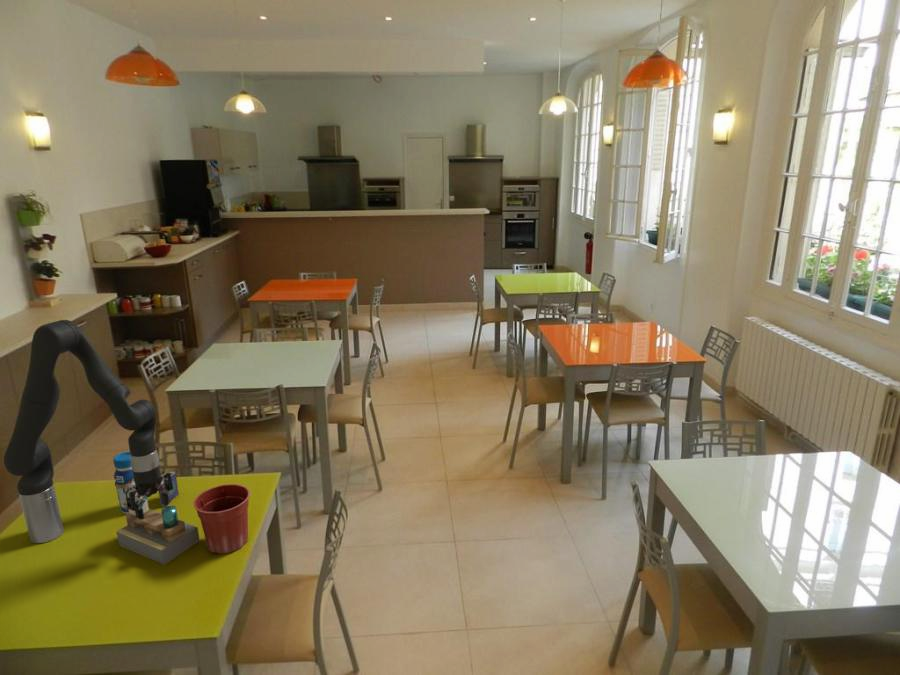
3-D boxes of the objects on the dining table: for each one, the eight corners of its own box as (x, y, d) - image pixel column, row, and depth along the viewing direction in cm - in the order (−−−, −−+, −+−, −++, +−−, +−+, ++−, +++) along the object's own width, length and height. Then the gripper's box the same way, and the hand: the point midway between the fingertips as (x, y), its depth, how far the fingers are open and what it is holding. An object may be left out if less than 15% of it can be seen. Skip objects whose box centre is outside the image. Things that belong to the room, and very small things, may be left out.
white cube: (129, 513, 190) (127, 502, 189) (140, 507, 194) (138, 496, 193) (137, 516, 189) (135, 505, 187) (148, 510, 192) (146, 499, 191)
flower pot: (219, 524, 200) (213, 481, 195) (265, 529, 196) (259, 486, 192) (189, 555, 184) (181, 509, 179) (238, 562, 181) (231, 515, 176)
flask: (165, 507, 210) (161, 480, 206) (158, 506, 210) (153, 479, 207) (180, 493, 218) (176, 466, 215) (173, 492, 219) (168, 466, 216)
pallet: (127, 525, 191) (125, 514, 190) (143, 516, 196) (141, 505, 194) (170, 542, 182) (168, 531, 181) (186, 532, 187) (184, 521, 186)
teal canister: (160, 526, 183) (158, 511, 182) (172, 518, 187) (169, 504, 185) (170, 529, 182) (167, 514, 180) (181, 522, 185) (179, 507, 184)
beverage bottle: (139, 498, 215) (130, 447, 209) (152, 506, 210) (142, 454, 205) (115, 509, 209) (105, 457, 203) (128, 517, 204) (117, 464, 198)
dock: (119, 545, 189) (116, 531, 188) (155, 523, 200) (152, 510, 199) (164, 564, 180) (161, 550, 179) (199, 540, 191) (197, 526, 190)
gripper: (157, 452, 190) (164, 497, 195) (115, 472, 178) (124, 520, 182) (174, 457, 186) (180, 503, 191) (132, 478, 174) (140, 527, 179)
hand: (153, 511), depth 187 cm, fingers open, 8 cm apart
